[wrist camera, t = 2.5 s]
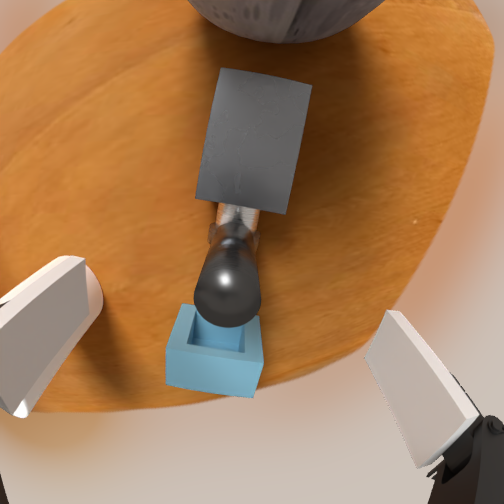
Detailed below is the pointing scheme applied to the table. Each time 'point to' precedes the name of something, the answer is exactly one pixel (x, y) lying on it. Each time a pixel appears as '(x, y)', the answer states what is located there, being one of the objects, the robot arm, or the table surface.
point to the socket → (214, 355)
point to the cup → (94, 309)
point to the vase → (284, 17)
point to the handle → (230, 269)
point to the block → (253, 140)
